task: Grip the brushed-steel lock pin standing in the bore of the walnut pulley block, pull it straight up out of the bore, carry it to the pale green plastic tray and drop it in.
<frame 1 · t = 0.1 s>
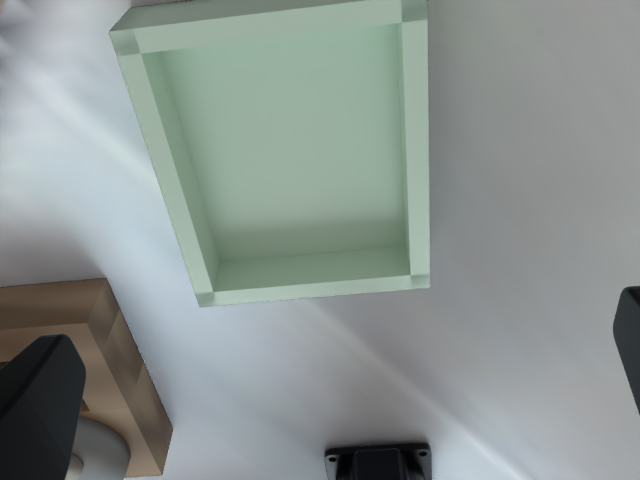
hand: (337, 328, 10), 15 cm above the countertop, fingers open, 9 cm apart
tray: (295, 145, 24), on the countertop
pulley block: (72, 367, 32), on the countertop
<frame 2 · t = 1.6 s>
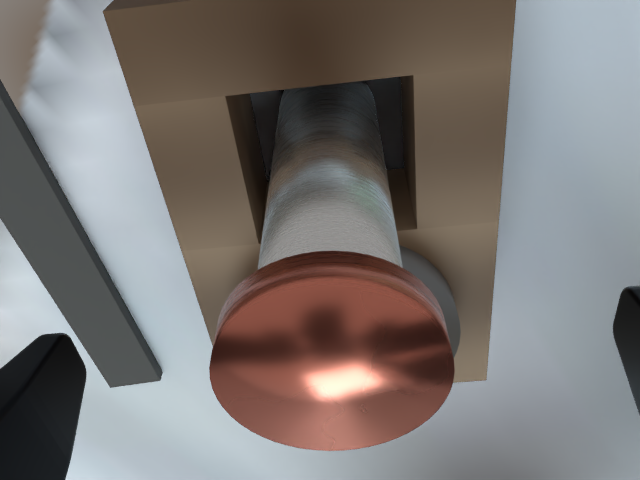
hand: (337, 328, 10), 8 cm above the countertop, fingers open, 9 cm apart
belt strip: (51, 231, 19), on the countertop
lock pin: (327, 111, 16), resting in pulley block
pulley block: (334, 175, 17), on the countertop
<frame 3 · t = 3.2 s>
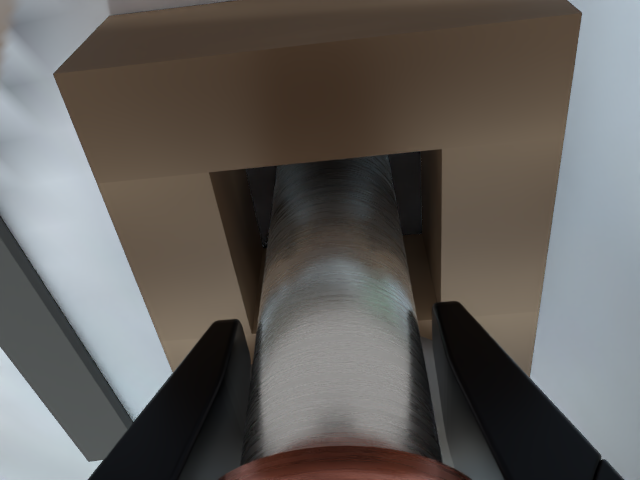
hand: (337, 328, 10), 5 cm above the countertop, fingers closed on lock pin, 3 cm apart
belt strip: (16, 299, 16), on the countertop
lock pin: (333, 171, 14), resting in pulley block, touching gripper
pulley block: (341, 240, 15), on the countertop
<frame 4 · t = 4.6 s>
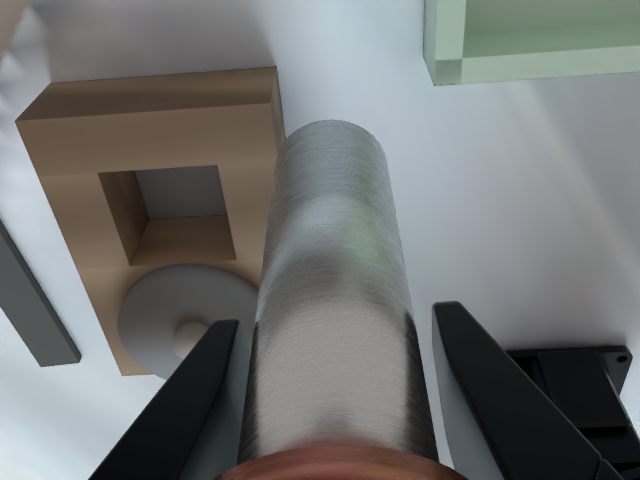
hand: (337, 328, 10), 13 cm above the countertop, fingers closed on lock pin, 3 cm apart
lock pin: (330, 171, 14), point 8 cm above the countertop, touching gripper
pulley block: (197, 216, 24), on the countertop
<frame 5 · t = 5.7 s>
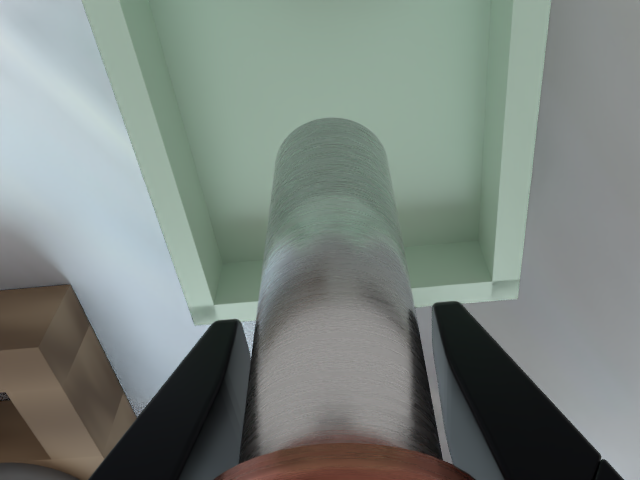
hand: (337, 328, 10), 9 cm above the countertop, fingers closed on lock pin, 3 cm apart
tray: (331, 95, 17), on the countertop
lock pin: (331, 169, 14), point 4 cm above the countertop, touching gripper
pulley block: (31, 398, 25), on the countertop
when the fingers open (7 cm above the countertop, at t = 6.5 s): lock pin drops 2 cm, resting on tray.
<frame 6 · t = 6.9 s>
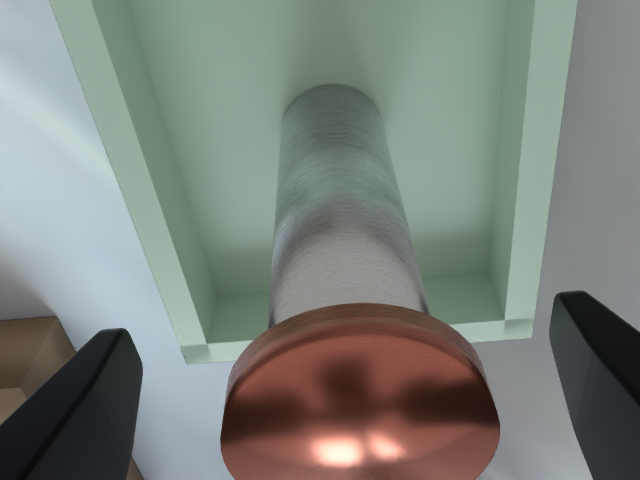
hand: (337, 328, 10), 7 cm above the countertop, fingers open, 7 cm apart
tray: (332, 122, 16), on the countertop
lock pin: (331, 133, 15), point 1 cm above the countertop, touching tray
pulley block: (18, 431, 24), on the countertop
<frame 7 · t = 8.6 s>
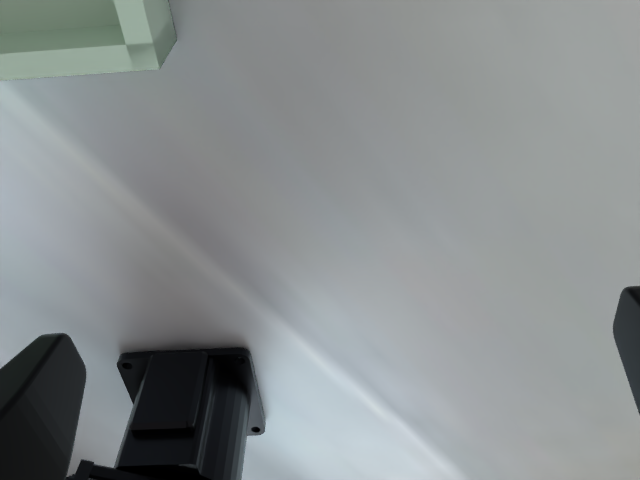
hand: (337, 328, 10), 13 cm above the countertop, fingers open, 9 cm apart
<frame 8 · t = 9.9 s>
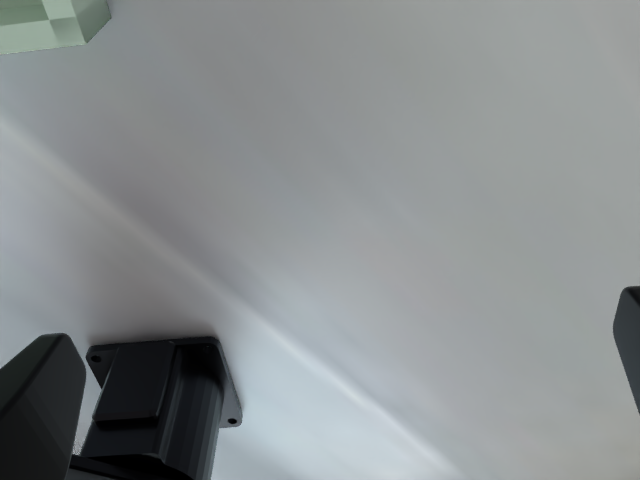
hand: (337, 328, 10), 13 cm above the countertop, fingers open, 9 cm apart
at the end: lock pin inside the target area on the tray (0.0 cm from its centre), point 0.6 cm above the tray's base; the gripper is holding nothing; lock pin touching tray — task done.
